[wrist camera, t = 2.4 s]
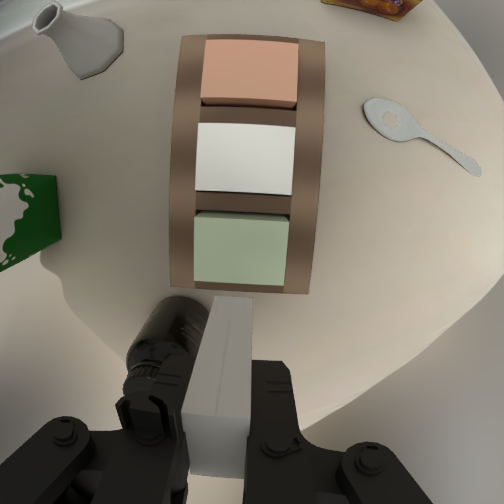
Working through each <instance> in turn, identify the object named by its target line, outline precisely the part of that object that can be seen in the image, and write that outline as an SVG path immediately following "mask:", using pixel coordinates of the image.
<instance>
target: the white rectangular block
mask: <svg viewBox="0 0 504 504" xmlns="http://www.w3.org/2000/svg"><path fill="white" fill-rule="evenodd" d="M294 146H295V127H284V126H272V125H256V124H233V123H198V137H197V155H196V177H195V190H206V191H232V192H252V193H269V194H284V195H291V192H292V178H293V162H294Z"/></svg>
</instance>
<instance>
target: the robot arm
mask: <svg viewBox="0 0 504 504" xmlns="http://www.w3.org/2000/svg"><path fill="white" fill-rule="evenodd" d="M252 299H253V298H250V297H233V296H217V295H215V298H214V301H213V304H212V308H211V311H210V314H209V318H208V321H207V324H206V328H205V331H204V334H203V338H202V341H201V344H200V348H199V351H198V354H197V357H193V356H183V355H175V354H172V355H171V356H170V357H168V358H167V359H166V360H165V361H164V362H162V364H161V367H160V369H159V371H158V375H157V376H156V378H155V380H154V384H153V385H152V387H151V389H150V391H137V392H133V393H129V394H127V395H125V396H123V397H122V398H120V400H119V401H118V402H117V403H116V404H115V406H116V409H117V413H118V416H119V419H120V422H121V425H122V428H123V429H120V430H114V431H89V430H88V428H87V425H86V424H84V423H83V422H82V421H81V420H80V419H77V418H74V417H68V416H62V417H58V418H54V419H52V420H51V421H49V422H47V423H46V424H45V425H44V426H43V427H42V428H41V429H39V430H38V431H37V432H36V433H35V434H34V435H33V436H32V437H31V438H30V439H28V440H27V441H26V442H25V443H24V444H23V445H22V446H21V447H19V448H18V449H17V450H16V451H15V452H14V453H13V454H12V455H11V456H9V458H7V459H6V460H5V461H4V462H3V463H2V464H1V465H0V504H186V500H187V494H188V483H187V476H188V471H189V468H190V473H191V474H194V475H202V476H211V477H223V478H238V479H244V492H243V503H242V504H433V503H432V502H431V500H430V499H429V498H428V497H427V495H426V494H425V493H424V492H423V491H422V489H421V488H420V486H419V485H418V484H417V483H416V481H415V480H414V479H413V477H412V476H411V475H410V474H409V472H408V471H407V470H406V468H405V467H404V466H403V464H402V463H401V462H400V461H399V459H398V458H397V457H396V455H395V454H394V453H393V452H392V451H391V450H390V449H389V448H387V447H386V446H384V445H381V444H379V443H374V442H363V443H357V444H355V445H353V446H351V447H349V448H348V449H347V451H346V452H339V451H333V450H328V449H323V448H320V447H316V446H315V445H313V444H311V443H310V442H308V441H307V440H306V439H305V438H304V437H303V435H302V434H301V432H300V429H299V425H298V419H297V412H296V406H295V400H294V393H293V387H292V381H291V375H290V370H289V369H288V368H287V367H286V365H285V364H284V363H283V362H282V361H267V360H252Z"/></svg>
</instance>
